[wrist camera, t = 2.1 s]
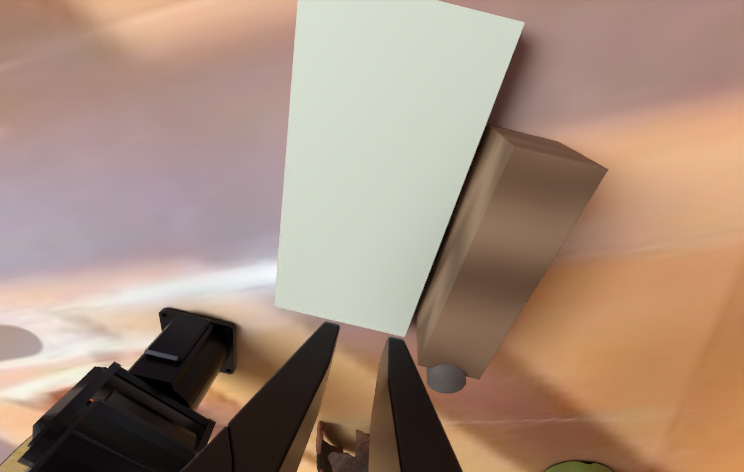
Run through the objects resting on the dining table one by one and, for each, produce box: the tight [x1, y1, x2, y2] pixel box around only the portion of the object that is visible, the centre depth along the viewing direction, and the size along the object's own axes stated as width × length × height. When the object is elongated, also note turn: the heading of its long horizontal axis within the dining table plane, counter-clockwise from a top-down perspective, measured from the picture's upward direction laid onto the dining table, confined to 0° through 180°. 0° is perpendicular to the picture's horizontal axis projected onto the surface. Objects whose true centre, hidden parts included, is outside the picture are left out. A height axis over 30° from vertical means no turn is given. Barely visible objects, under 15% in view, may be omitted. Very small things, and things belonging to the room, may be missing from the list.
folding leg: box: [416, 125, 608, 393], centre depth 19 cm, size 16×4×5 cm, turn 168°
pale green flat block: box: [274, 0, 525, 337], centre depth 19 cm, size 20×10×2 cm, turn 168°
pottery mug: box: [316, 421, 370, 472], centre depth 32 cm, size 12×10×8 cm
